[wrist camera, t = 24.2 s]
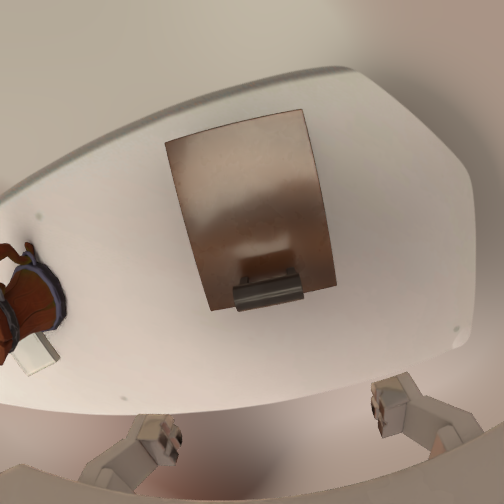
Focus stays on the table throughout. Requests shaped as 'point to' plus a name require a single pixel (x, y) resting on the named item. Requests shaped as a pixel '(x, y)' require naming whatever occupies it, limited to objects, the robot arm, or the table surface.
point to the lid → (254, 211)
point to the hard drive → (34, 353)
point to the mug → (28, 300)
